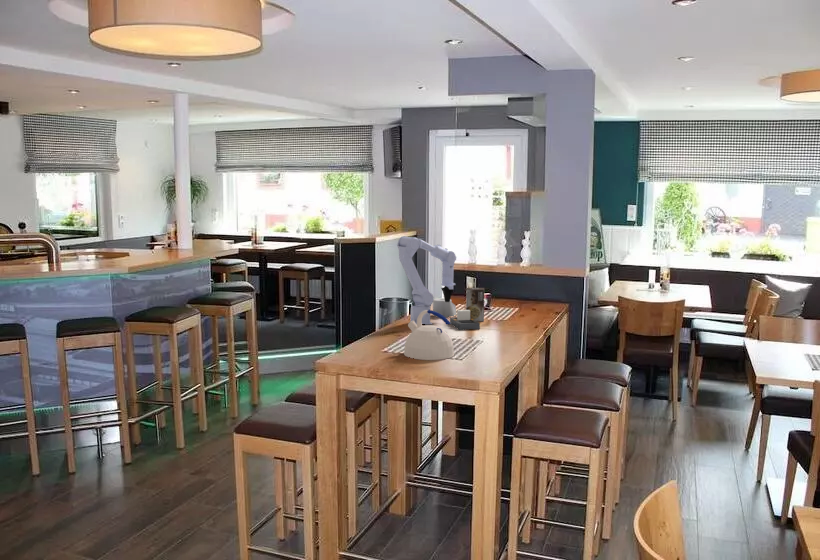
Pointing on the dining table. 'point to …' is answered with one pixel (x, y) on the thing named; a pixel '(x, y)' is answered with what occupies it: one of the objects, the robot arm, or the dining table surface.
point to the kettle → (428, 340)
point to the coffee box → (475, 303)
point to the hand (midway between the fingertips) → (447, 301)
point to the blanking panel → (463, 314)
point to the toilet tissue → (444, 307)
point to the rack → (465, 324)
